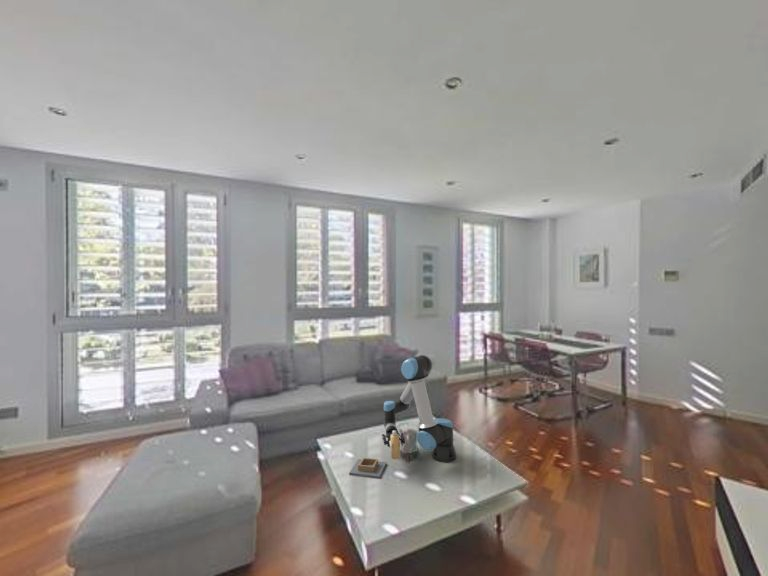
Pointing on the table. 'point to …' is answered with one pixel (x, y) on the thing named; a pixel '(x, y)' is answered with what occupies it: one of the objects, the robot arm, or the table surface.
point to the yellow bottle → (395, 445)
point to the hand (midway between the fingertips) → (396, 447)
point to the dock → (368, 468)
